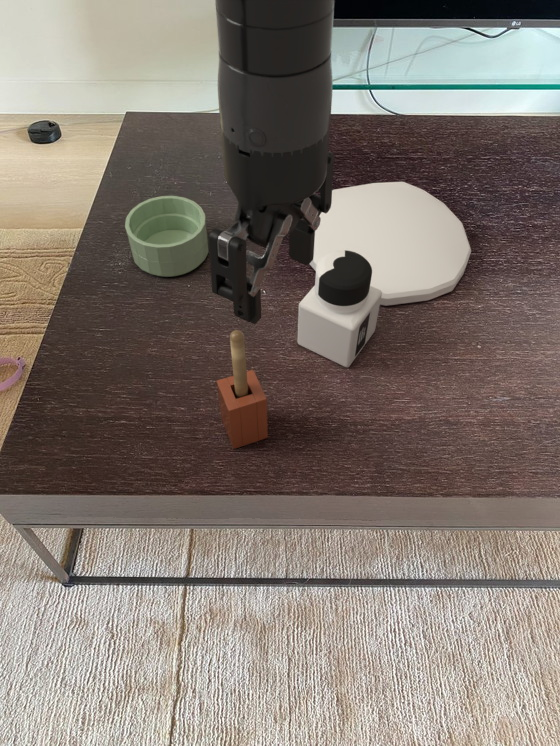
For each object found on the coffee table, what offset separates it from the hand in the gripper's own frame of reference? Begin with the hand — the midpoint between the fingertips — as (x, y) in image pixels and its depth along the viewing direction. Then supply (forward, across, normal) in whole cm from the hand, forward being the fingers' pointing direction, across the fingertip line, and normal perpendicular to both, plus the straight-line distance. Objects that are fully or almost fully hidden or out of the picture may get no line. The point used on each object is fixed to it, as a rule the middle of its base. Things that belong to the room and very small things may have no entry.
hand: (275, 288), depth 55 cm
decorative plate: (+23, -36, -4) cm, 43 cm away
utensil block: (+23, +2, -3) cm, 24 cm away
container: (+23, -16, -1) cm, 28 cm away
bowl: (+23, -17, -30) cm, 42 cm away
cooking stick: (+23, +2, -3) cm, 24 cm away
